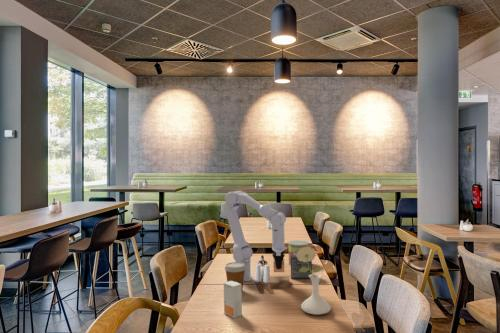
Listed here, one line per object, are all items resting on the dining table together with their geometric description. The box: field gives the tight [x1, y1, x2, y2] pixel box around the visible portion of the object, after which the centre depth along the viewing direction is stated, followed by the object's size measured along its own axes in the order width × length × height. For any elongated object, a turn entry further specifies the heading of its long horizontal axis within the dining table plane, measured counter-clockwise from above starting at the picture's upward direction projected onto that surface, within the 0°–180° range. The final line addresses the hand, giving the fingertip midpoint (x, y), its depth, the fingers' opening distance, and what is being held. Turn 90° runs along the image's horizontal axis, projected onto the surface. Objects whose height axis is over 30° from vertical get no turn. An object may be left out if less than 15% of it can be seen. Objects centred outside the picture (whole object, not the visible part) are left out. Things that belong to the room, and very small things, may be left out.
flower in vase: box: [296, 246, 332, 316], centre depth 139 cm, size 13×11×25 cm
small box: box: [290, 255, 313, 280], centre depth 181 cm, size 11×6×10 cm, turn 84°
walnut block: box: [269, 275, 291, 289], centre depth 170 cm, size 9×9×3 cm
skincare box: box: [223, 281, 243, 319], centre depth 138 cm, size 6×4×12 cm
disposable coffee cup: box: [224, 261, 246, 291], centre depth 163 cm, size 10×10×12 cm
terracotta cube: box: [273, 258, 285, 273], centre depth 170 cm, size 5×5×5 cm
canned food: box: [288, 240, 309, 266], centre depth 205 cm, size 11×11×12 cm
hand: (278, 267), depth 170 cm, fingers closed on terracotta cube, 5 cm apart
